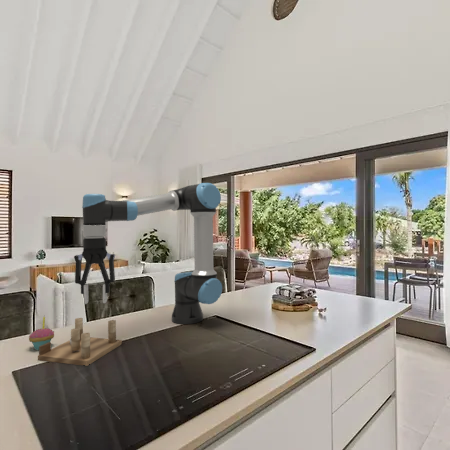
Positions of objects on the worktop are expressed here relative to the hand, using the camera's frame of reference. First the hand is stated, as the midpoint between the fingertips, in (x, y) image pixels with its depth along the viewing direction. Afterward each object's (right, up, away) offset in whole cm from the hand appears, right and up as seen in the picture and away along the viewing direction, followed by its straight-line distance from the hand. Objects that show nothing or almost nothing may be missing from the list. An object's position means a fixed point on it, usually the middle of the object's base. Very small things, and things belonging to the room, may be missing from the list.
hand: (95, 302), depth 115 cm
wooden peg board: (-6, -19, +4) cm, 20 cm away
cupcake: (-24, -19, +8) cm, 32 cm away
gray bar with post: (-10, -17, +4) cm, 20 cm away
